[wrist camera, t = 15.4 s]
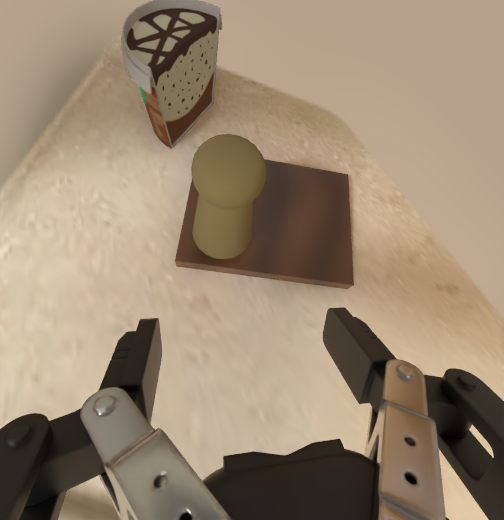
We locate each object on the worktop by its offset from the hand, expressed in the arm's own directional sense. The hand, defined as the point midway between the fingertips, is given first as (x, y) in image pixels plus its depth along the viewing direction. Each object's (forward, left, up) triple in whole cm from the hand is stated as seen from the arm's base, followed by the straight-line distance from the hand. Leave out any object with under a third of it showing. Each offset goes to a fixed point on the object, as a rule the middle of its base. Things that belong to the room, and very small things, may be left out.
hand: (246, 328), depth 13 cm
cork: (-2, +11, -12) cm, 16 cm away
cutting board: (+3, +14, -13) cm, 20 cm away
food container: (-10, +27, -14) cm, 32 cm away
